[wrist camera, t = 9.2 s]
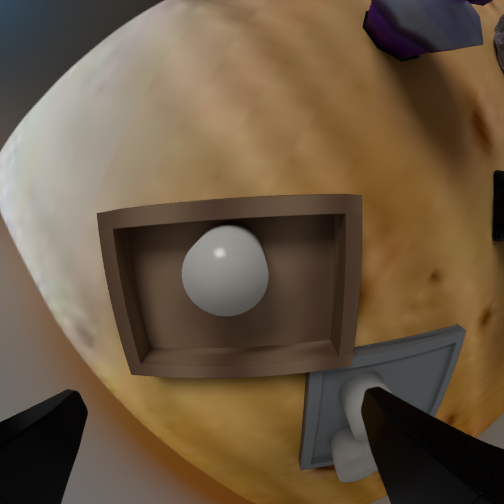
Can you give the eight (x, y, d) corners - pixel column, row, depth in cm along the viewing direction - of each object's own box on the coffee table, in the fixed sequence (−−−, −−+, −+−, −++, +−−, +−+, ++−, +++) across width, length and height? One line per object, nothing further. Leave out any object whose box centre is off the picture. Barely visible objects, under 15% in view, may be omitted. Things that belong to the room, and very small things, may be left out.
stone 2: (378, 362, 19) (402, 396, 15) (384, 393, 20) (404, 425, 16) (333, 383, 19) (349, 421, 15) (343, 411, 20) (357, 448, 16)
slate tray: (457, 324, 20) (466, 330, 18) (419, 430, 23) (423, 438, 22) (307, 353, 20) (310, 363, 18) (298, 460, 23) (300, 469, 22)
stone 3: (373, 424, 21) (388, 456, 17) (356, 448, 22) (367, 479, 17) (338, 426, 21) (350, 461, 16) (322, 450, 22) (330, 483, 17)
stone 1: (263, 284, 17) (268, 315, 13) (200, 285, 17) (186, 316, 13) (262, 220, 17) (267, 231, 12) (196, 222, 17) (178, 234, 12)
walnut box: (343, 193, 17) (362, 195, 14) (339, 344, 20) (351, 365, 17) (118, 209, 17) (96, 213, 14) (144, 352, 19) (131, 374, 17)
